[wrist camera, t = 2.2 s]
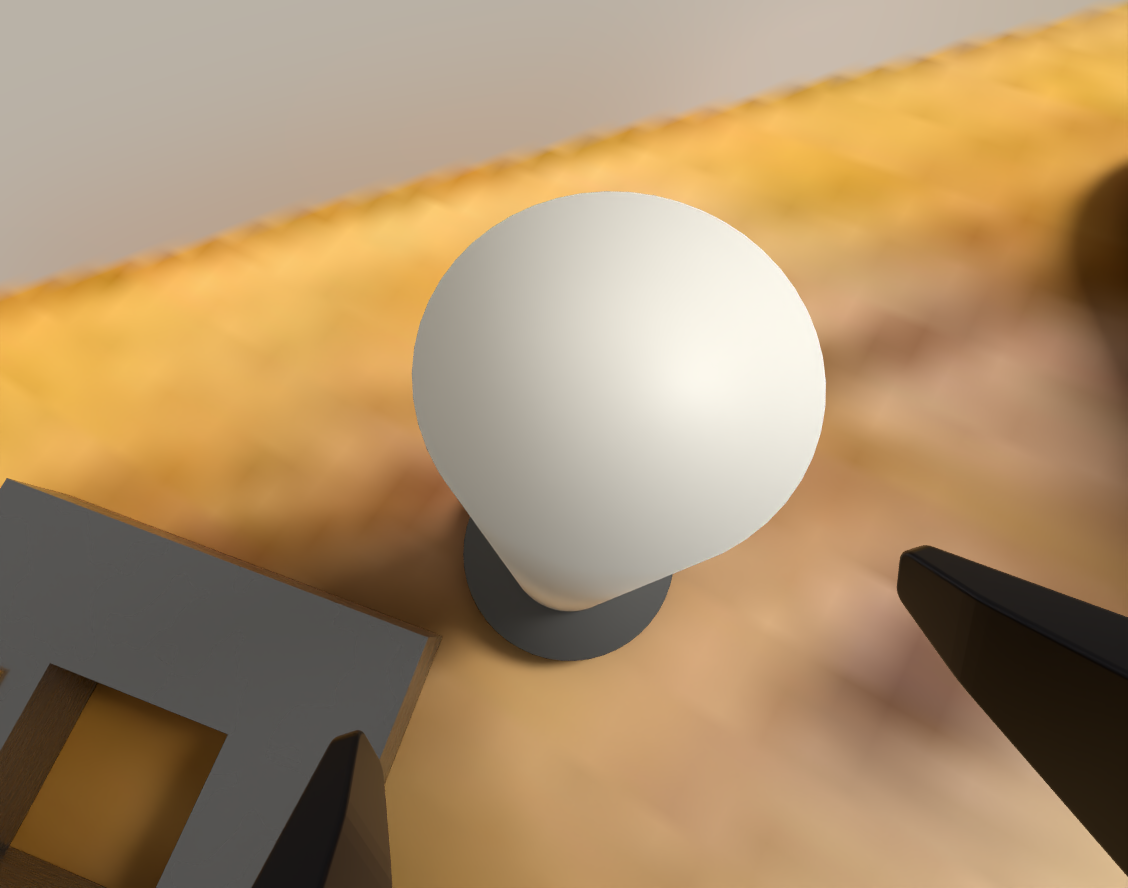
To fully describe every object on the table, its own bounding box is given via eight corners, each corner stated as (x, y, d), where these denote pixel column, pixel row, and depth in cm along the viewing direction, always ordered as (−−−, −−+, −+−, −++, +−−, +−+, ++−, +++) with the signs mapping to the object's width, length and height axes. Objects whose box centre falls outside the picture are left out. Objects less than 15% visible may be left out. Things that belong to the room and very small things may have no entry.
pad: (634, 691, 20) (637, 693, 19) (434, 616, 20) (430, 615, 20) (693, 492, 22) (699, 487, 21) (509, 428, 22) (508, 420, 22)
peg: (607, 629, 20) (770, 641, 5) (490, 586, 20) (341, 486, 6) (644, 513, 21) (863, 259, 6) (533, 474, 21) (501, 146, 7)
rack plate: (238, 1154, 16) (180, 1253, 14) (-207, 950, 17) (-339, 1007, 15) (442, 636, 20) (427, 637, 18) (67, 494, 21) (1, 476, 19)
